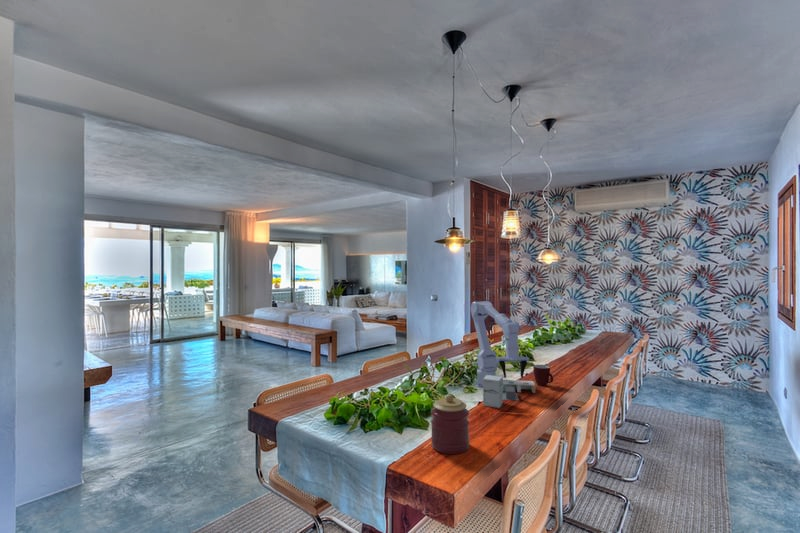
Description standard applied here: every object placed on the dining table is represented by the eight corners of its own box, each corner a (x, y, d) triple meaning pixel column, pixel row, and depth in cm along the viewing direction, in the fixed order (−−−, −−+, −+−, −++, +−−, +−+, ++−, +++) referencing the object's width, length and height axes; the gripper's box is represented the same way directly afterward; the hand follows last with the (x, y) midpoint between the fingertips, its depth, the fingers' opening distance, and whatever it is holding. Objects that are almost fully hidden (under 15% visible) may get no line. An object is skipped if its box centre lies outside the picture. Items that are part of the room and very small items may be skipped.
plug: (506, 398, 177) (506, 391, 177) (505, 393, 185) (505, 386, 185) (515, 399, 177) (515, 391, 177) (514, 394, 184) (514, 386, 184)
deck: (500, 401, 177) (500, 399, 177) (500, 394, 187) (500, 392, 187) (519, 402, 175) (519, 400, 175) (517, 395, 185) (517, 393, 185)
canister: (424, 449, 130) (423, 396, 131) (442, 435, 141) (441, 386, 141) (459, 459, 123) (458, 403, 123) (475, 443, 134) (474, 392, 134)
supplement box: (482, 407, 169) (482, 378, 169) (487, 402, 176) (486, 374, 176) (499, 410, 166) (499, 380, 166) (503, 404, 172) (503, 376, 173)
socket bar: (503, 393, 189) (502, 383, 189) (502, 388, 195) (502, 379, 195) (535, 394, 185) (535, 384, 185) (533, 390, 192) (533, 380, 192)
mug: (557, 387, 197) (557, 367, 197) (549, 390, 192) (549, 370, 192) (539, 382, 205) (538, 363, 205) (530, 385, 200) (530, 366, 200)
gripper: (497, 349, 178) (498, 379, 177) (529, 349, 176) (531, 379, 176) (495, 347, 185) (496, 375, 184) (526, 346, 183) (528, 375, 183)
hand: (513, 377), depth 181 cm, fingers open, 7 cm apart
